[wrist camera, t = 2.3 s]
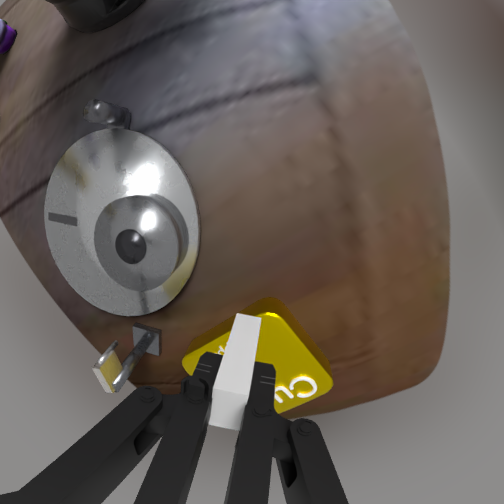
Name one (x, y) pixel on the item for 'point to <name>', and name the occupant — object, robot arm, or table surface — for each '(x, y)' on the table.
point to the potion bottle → (6, 37)
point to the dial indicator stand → (116, 373)
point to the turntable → (104, 192)
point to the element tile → (274, 353)
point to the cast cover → (141, 240)
